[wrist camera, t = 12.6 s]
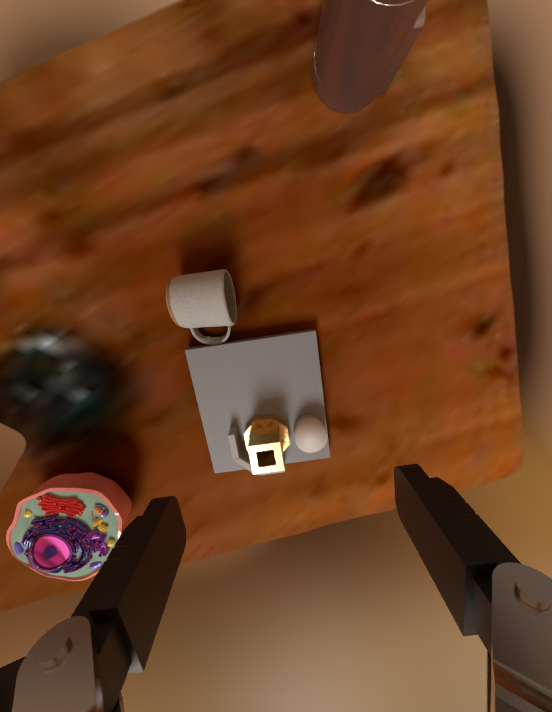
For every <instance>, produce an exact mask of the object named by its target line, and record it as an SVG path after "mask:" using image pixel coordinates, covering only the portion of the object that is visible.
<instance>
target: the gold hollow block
mask: <svg viewBox="0 0 552 712" xmlns="http://www.w3.org/2000/svg"><path fill="white" fill-rule="evenodd" d="M244 438H245V443H246V448H247V450H248V452H249V457H250V462H251V467H252V472H253V474H260V473H267V472H275V471H282V470H284V456H283V452H284V451H285V449H286V448H287V447H288V446H289V445H290V441H289V434H288V427H287V423H285V422H284V421H282V420H281V419H279V418H278V417H276V416H275V415H273V414H269V415H262V416H255V417H254V418H253V420H252V421H251V422H250V423H249V425H248V426H247V427H246V428H245V431H244Z"/></svg>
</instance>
